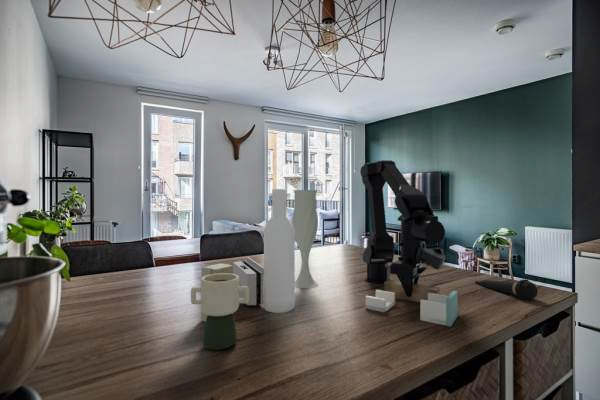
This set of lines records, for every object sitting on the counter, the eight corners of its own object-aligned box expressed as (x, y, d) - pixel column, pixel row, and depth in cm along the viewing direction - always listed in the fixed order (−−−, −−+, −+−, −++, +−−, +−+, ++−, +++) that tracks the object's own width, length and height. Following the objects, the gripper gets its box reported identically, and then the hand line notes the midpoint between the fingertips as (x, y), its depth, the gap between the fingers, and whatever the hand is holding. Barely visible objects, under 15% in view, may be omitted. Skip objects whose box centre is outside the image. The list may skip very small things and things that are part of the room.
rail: (384, 296, 95) (384, 282, 95) (388, 293, 98) (388, 279, 98) (436, 305, 88) (436, 290, 87) (439, 302, 90) (439, 287, 90)
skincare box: (213, 325, 74) (213, 269, 74) (200, 321, 76) (200, 267, 76) (234, 316, 79) (234, 264, 79) (220, 312, 82) (220, 262, 81)
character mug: (250, 336, 68) (250, 272, 68) (247, 353, 61) (247, 281, 61) (195, 338, 67) (195, 273, 67) (185, 355, 60) (185, 282, 60)
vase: (286, 286, 105) (287, 190, 104) (297, 280, 113) (297, 190, 112) (313, 289, 102) (313, 190, 101) (322, 282, 109) (322, 190, 109)
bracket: (232, 292, 99) (232, 258, 99) (248, 290, 101) (248, 257, 101) (246, 310, 84) (246, 270, 84) (265, 307, 86) (265, 268, 85)
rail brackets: (365, 308, 85) (365, 284, 85) (376, 300, 91) (377, 278, 91) (450, 326, 73) (451, 299, 73) (457, 316, 80) (457, 291, 79)
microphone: (472, 294, 108) (531, 305, 89) (466, 277, 108) (524, 285, 90) (484, 287, 110) (545, 297, 91) (478, 270, 110) (538, 277, 91)
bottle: (296, 303, 89) (296, 189, 88) (293, 313, 81) (293, 188, 80) (266, 302, 89) (266, 189, 89) (260, 312, 81) (260, 188, 81)
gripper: (434, 245, 80) (433, 310, 81) (450, 237, 96) (449, 291, 96) (388, 241, 87) (388, 301, 87) (410, 234, 102) (410, 285, 102)
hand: (411, 294), depth 93 cm, fingers closed on rail, 3 cm apart
